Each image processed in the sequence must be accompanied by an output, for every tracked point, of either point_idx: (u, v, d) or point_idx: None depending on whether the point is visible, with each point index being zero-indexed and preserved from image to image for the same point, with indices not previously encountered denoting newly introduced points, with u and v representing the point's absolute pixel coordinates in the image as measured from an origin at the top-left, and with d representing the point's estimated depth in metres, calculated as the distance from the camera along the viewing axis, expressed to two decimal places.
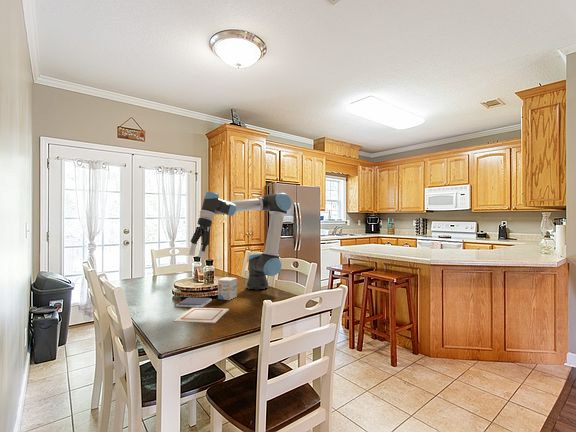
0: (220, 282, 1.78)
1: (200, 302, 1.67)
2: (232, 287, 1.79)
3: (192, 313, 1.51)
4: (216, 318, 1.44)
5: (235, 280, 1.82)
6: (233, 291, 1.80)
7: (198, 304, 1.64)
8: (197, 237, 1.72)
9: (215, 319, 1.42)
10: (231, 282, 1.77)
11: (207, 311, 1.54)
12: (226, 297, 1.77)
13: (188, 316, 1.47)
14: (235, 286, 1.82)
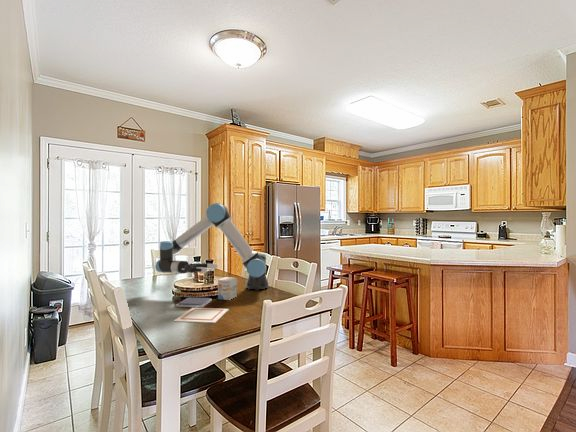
0: (220, 282, 1.78)
1: (200, 302, 1.67)
2: (232, 287, 1.79)
3: (192, 313, 1.51)
4: (216, 318, 1.44)
5: (235, 280, 1.82)
6: (233, 291, 1.80)
7: (198, 304, 1.64)
8: (199, 266, 1.90)
9: (215, 319, 1.42)
10: (231, 282, 1.77)
11: (207, 311, 1.54)
12: (226, 297, 1.77)
13: (188, 316, 1.47)
14: (235, 286, 1.82)
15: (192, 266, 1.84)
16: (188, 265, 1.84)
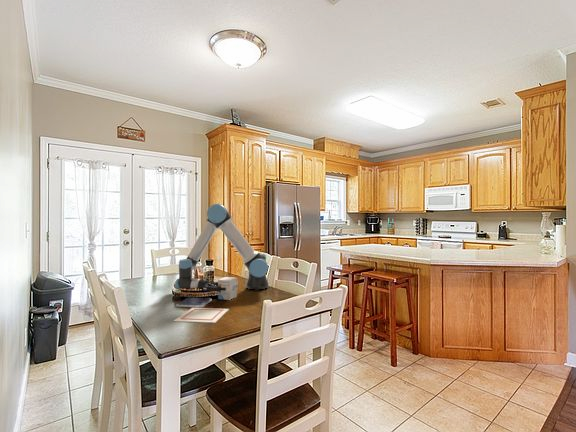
0: (220, 282, 1.78)
1: (200, 302, 1.67)
2: (232, 287, 1.79)
3: (192, 313, 1.51)
4: (216, 318, 1.44)
5: (235, 280, 1.82)
6: (234, 290, 1.80)
7: (198, 304, 1.64)
8: None
9: (215, 319, 1.42)
10: (231, 282, 1.77)
11: (207, 311, 1.54)
12: (226, 297, 1.77)
13: (188, 316, 1.47)
14: (235, 286, 1.82)
15: (212, 285, 1.82)
16: (209, 284, 1.81)
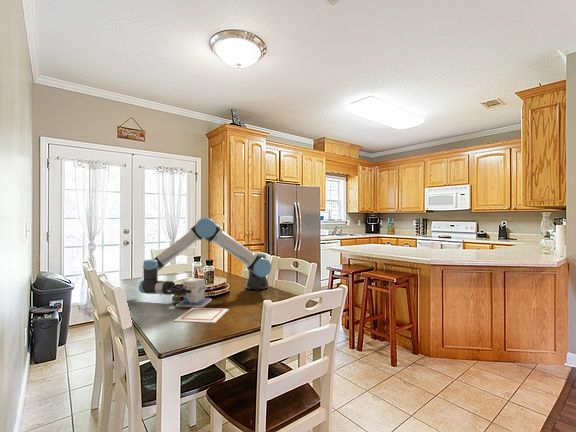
0: (186, 283, 1.67)
1: (200, 302, 1.67)
2: (198, 289, 1.68)
3: (192, 313, 1.51)
4: (216, 318, 1.44)
5: (202, 281, 1.71)
6: (200, 293, 1.69)
7: (198, 304, 1.64)
8: None
9: (215, 319, 1.42)
10: (197, 284, 1.66)
11: (207, 311, 1.54)
12: (192, 300, 1.66)
13: (188, 316, 1.47)
14: (202, 288, 1.71)
15: None
16: (174, 286, 1.70)
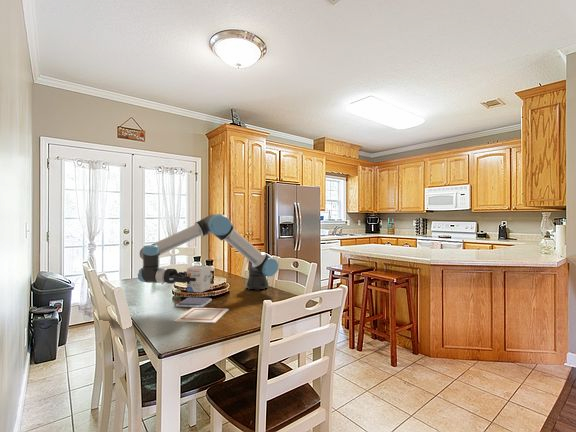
0: (189, 271, 1.50)
1: (200, 302, 1.67)
2: (204, 277, 1.50)
3: (192, 313, 1.51)
4: (216, 318, 1.44)
5: (208, 269, 1.53)
6: (206, 281, 1.52)
7: (198, 304, 1.64)
8: None
9: (215, 319, 1.42)
10: (202, 271, 1.49)
11: (207, 311, 1.54)
12: (196, 289, 1.48)
13: (188, 316, 1.47)
14: (208, 276, 1.53)
15: None
16: (177, 274, 1.53)
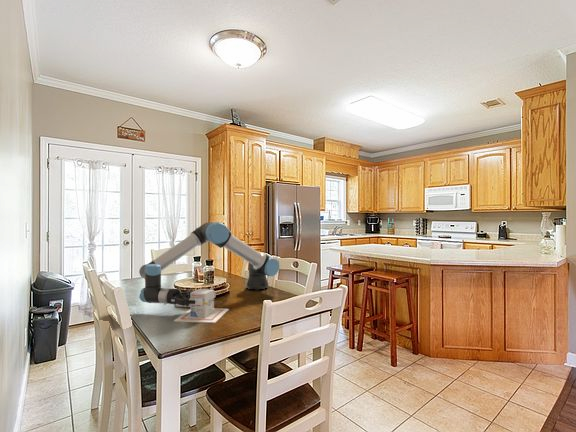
0: (193, 295, 1.46)
1: None
2: (208, 301, 1.47)
3: None
4: (216, 318, 1.44)
5: (212, 293, 1.51)
6: (210, 305, 1.49)
7: None
8: None
9: (215, 319, 1.42)
10: (206, 296, 1.46)
11: None
12: (200, 314, 1.45)
13: (188, 316, 1.47)
14: (212, 300, 1.51)
15: (184, 296, 1.50)
16: (179, 295, 1.50)
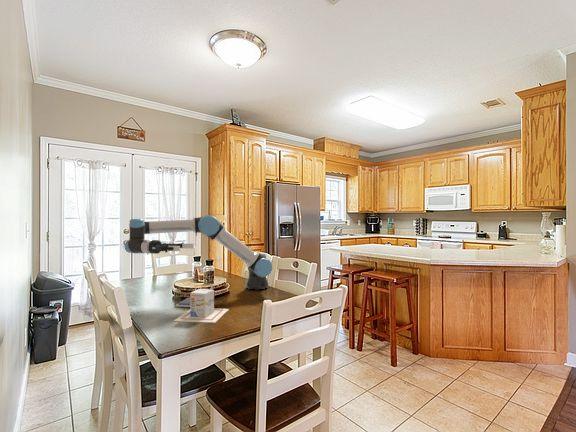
0: (193, 295, 1.46)
1: None
2: (208, 301, 1.47)
3: None
4: (216, 318, 1.44)
5: (212, 293, 1.51)
6: (210, 305, 1.49)
7: None
8: None
9: (215, 319, 1.42)
10: (206, 296, 1.46)
11: None
12: (200, 314, 1.45)
13: (188, 316, 1.47)
14: (212, 300, 1.51)
15: (164, 245, 1.66)
16: (160, 244, 1.66)
